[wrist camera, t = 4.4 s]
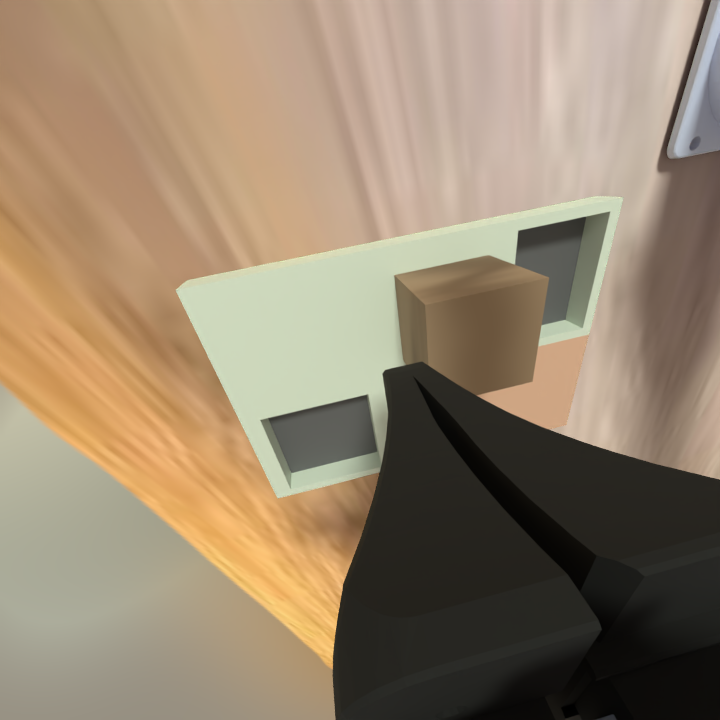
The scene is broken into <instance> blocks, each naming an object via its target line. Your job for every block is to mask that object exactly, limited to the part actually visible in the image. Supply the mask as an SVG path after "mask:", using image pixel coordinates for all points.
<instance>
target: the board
mask: <svg viewBox="0 0 720 720" xmlns="http://www.w3.org/2000/svg"><path fill="white" fill-rule="evenodd" d="M623 198H624V197H608V196H594V197H589V198H584V199H579V200H574V201H570V202H565V203H560V204H555V205H550V206H545V207H540V208H536V209H531V210H526V211H521V212H516V213H511V214H506V215H502V216H497V217H492V218H487V219H482V220H477V221H472V222H468V223H463V224H458V225H453V226H448V227H443V228H438V229H434V230H429V231H424V232H419V233H414V234H409V235H404V236H400V237H395V238H390V239H385V240H380V241H375V242H370V243H366V244H361V245H356V246H351V247H346V248H341V249H336V250H332V251H327V252H322V253H317V254H312V255H307V256H302V257H298V258H293V259H288V260H283V261H278V262H273V263H268V264H264V265H259V266H254V267H249V268H244V269H239V270H235V271H230V272H225V273H220V274H215V275H210V276H205V277H201V278H196V279H191V280H187V281H186V282H185V283H183V284H182V285H181V286H180V287H179V288H177V289H176V292H177V294H178V296H179V298H180V300H181V302H182V304H183V306H184V308H185V310H186V312H187V314H188V316H189V318H190V320H191V322H192V324H193V326H194V329H195V331H196V333H197V335H198V337H199V339H200V341H201V343H202V345H203V347H204V349H205V351H206V353H207V355H208V357H209V359H210V361H211V363H212V365H213V367H214V369H215V371H216V373H217V375H218V378H219V380H220V382H221V384H222V386H223V388H224V390H225V392H226V394H227V396H228V398H229V400H230V402H231V404H232V406H233V408H234V410H235V412H236V414H237V416H238V418H239V420H240V422H241V424H242V427H243V429H244V431H245V433H246V435H247V437H248V439H249V441H250V443H251V445H252V447H253V449H254V451H255V453H256V455H257V457H258V459H259V461H260V463H261V465H262V467H263V469H264V471H265V473H266V476H267V478H268V480H269V482H270V484H271V486H272V488H273V490H274V492H275V494H276V496H277V498H281V497H285V496H289V495H293V494H297V493H301V492H305V491H309V490H313V489H317V488H320V487H324V486H328V485H332V484H336V483H340V482H344V481H348V480H352V479H356V478H360V477H364V476H368V475H371V474H375V473H379V472H380V469H381V464H382V459H383V454H384V448H385V441H386V432H387V420H388V408H387V401H386V395H385V388H384V381H383V375H382V373H383V372H384V371H385V370H387V369H391V368H395V367H400V366H404V365H406V364H405V362H404V360H403V355H402V346H401V336H400V327H399V317H398V308H397V298H396V288H395V279H394V275H397V274H402V273H406V272H411V271H416V270H421V269H425V268H430V267H435V266H439V265H444V264H449V263H453V262H458V261H463V260H467V259H472V258H477V257H482V256H486V255H490V256H493V257H495V258H498V259H501V260H503V261H506V262H509V263H511V264H514V265H517V266H520V267H522V268H525V269H528V270H530V271H533V272H536V273H538V274H541V275H544V276H546V277H549V282H548V288H547V295H546V301H545V307H544V313H543V319H542V326H541V332H540V338H539V344H538V351H537V357H536V363H535V369H534V376H533V382H530V383H525V384H521V385H517V386H513V387H509V388H505V389H501V390H497V391H493V392H488V393H484V394H480V395H476V396H478V397H480V398H482V399H484V400H486V401H488V402H489V403H491V404H493V405H495V406H497V407H499V408H501V409H503V410H505V411H507V412H509V413H511V414H513V415H516V416H518V417H520V418H522V419H525V420H527V421H529V422H532V423H534V424H536V425H538V426H541V427H543V428H546V429H552V428H556V427H560V426H564V425H566V424H567V420H568V416H569V412H570V408H571V404H572V400H573V396H574V392H575V388H576V384H577V380H578V376H579V372H580V368H581V364H582V360H583V356H584V352H585V348H586V344H587V340H588V336H589V332H590V328H591V325H592V321H593V317H594V313H595V309H596V305H597V301H598V297H599V293H600V289H601V285H602V281H603V277H604V273H605V269H606V265H607V261H608V257H609V253H610V249H611V245H612V241H613V237H614V233H615V229H616V225H617V221H618V218H619V214H620V210H621V206H622V202H623Z"/></svg>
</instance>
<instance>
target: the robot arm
mask: <svg viewBox="0 0 720 720" xmlns="http://www.w3.org/2000/svg"><path fill="white" fill-rule="evenodd" d="M690 143H691V144H690ZM719 150H720V0H711V2H710V6H709V9H708V13H707V16H706V19H705V23H704V26H703V29H702V33H701V36H700V40H699V43H698V46H697V50H696V53H695V56H694V60H693V63H692V67H691V70H690V73H689V77H688V80H687V83H686V87H685V90H684V94H683V97H682V100H681V104H680V107H679V110H678V114H677V117H676V121H675V124H674V127H673V131H672V134H671V137H670V141H669V144H668V148H667V156H668V157H669V158H670V159H677V158H684V157H689V156H694V155H699V154H704V153H709V152H714V151H719ZM382 375H383V381H384V388H385V395H386V401H387V408H388V420H387V432H386V441H385V448H384V454H383V459H382V464H381V469H380V473H379V478H378V482H377V486H376V490H375V494H374V498H373V501H372V504H371V507H370V511H369V514H368V517H367V520H366V524H365V527H364V530H363V533H362V536H361V539H360V542H359V544H358V547H357V549H356V552H355V555H354V557H353V560H352V563H351V565H350V568H349V570H348V573H347V576H346V578H345V581H344V584H343V591H342V596H341V602H340V608H339V614H338V620H337V627H336V634H335V643H334V653H333V687H334V702H335V716H336V720H720V480H719V479H715V478H710V477H706V476H702V475H698V474H694V473H690V472H686V471H682V470H678V469H673V468H669V467H665V466H661V465H657V464H653V463H650V462H646V461H643V460H639V459H636V458H632V457H629V456H626V455H622V454H619V453H615V452H612V451H609V450H606V449H602V448H599V447H596V446H593V445H590V444H587V443H584V442H581V441H578V440H576V439H573V438H570V437H567V436H565V435H562V434H559V433H556V432H554V431H551V430H549V429H546V428H543V427H541V426H538V425H536V424H534V423H532V422H529V421H527V420H525V419H522V418H520V417H518V416H516V415H513V414H511V413H509V412H507V411H505V410H503V409H501V408H499V407H497V406H495V405H493V404H491V403H489V402H488V401H486V400H484V399H482V398H480V397H478V396H476V395H475V394H473V393H471V392H469V391H468V390H466V389H464V388H463V387H461V386H459V385H458V384H456V383H455V382H453V381H451V380H450V379H448V378H447V377H445V376H444V375H442V374H441V373H439V372H438V371H436V370H434V369H433V368H431V367H430V366H428V365H427V364H425V363H424V362H417V363H413V364H408V365H404V366H400V367H395V368H391V369H387V370H385V371H384V372H383V373H382Z"/></svg>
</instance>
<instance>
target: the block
mask: <svg viewBox="0 0 720 720" xmlns="http://www.w3.org/2000/svg"><path fill="white" fill-rule="evenodd" d="M394 279H395V288H396V298H397V308H398V317H399V327H400V336H401V346H402V355H403V360H404V362H405V364H406V365H408V364H413V363H417V362H424V363H425V364H427V365H428V366H430V367H431V368H433V369H434V370H436V371H438V372H439V373H441V374H442V375H444V376H445V377H447V378H448V379H450V380H451V381H453V382H455V383H456V384H458V385H459V386H461V387H463V388H464V389H466V390H468V391H469V392H471V393H473V394H475V395H480V394H484V393H488V392H493V391H497V390H501V389H505V388H509V387H513V386H517V385H521V384H525V383H530V382H533V376H534V369H535V363H536V357H537V351H538V344H539V338H540V332H541V326H542V319H543V313H544V307H545V301H546V295H547V288H548V282H549V277H546V276H544V275H541V274H538V273H536V272H533V271H530V270H528V269H525V268H522V267H520V266H517V265H514V264H511V263H509V262H506V261H503V260H501V259H498V258H495V257H493V256H490V255H486V256H482V257H477V258H472V259H467V260H463V261H458V262H453V263H449V264H444V265H439V266H435V267H430V268H425V269H421V270H416V271H411V272H406V273H402V274H397V275H394Z"/></svg>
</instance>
